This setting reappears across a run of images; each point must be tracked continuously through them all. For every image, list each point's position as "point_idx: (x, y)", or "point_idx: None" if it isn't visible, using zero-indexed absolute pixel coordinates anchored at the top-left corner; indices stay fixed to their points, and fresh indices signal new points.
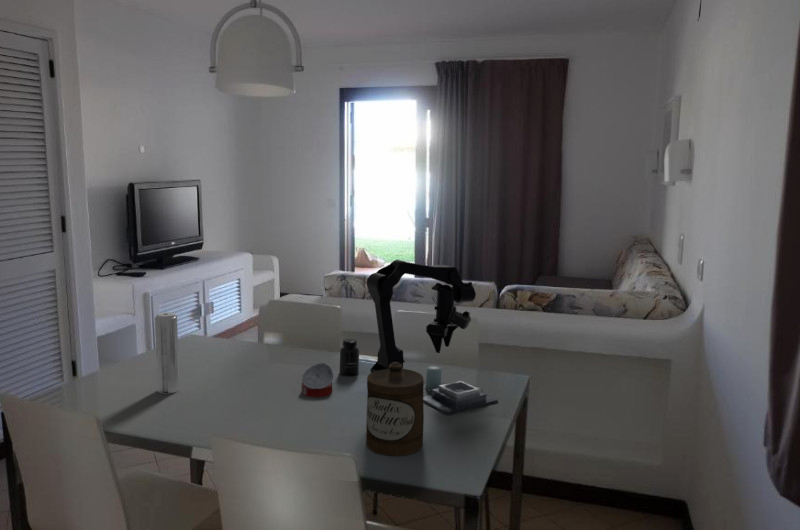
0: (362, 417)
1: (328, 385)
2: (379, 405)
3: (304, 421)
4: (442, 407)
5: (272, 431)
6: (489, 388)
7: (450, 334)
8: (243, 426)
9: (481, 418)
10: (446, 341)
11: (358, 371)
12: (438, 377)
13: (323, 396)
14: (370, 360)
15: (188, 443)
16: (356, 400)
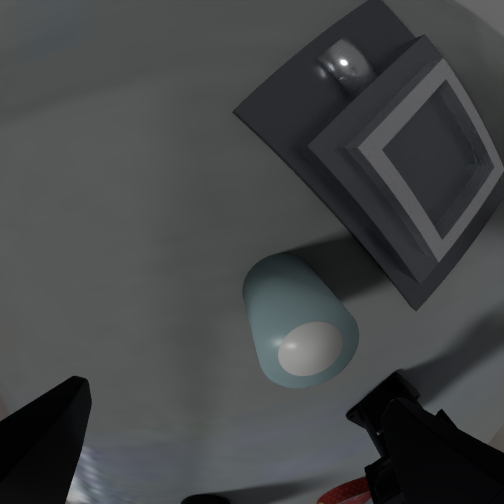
0: (483, 377)
1: (362, 494)
2: None
3: (472, 431)
4: (482, 214)
5: (486, 434)
6: (196, 15)
7: (8, 492)
8: None
9: (498, 90)
10: (70, 440)
11: (200, 499)
12: (331, 292)
13: None
14: (79, 482)
15: None
16: None
